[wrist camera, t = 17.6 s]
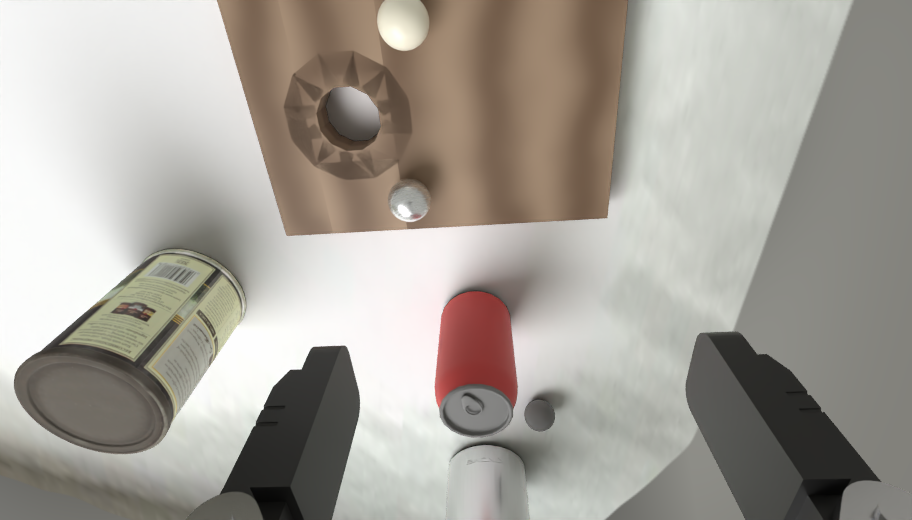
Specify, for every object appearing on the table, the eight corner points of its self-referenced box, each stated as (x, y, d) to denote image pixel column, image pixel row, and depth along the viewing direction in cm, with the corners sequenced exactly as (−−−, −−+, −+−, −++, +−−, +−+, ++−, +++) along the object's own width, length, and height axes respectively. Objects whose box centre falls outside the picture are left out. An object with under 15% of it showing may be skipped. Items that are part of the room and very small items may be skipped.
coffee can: (168, 340, 48) (66, 460, 36) (117, 254, 43) (-22, 361, 31) (263, 330, 47) (190, 451, 35) (222, 241, 42) (121, 346, 30)
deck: (621, -54, 30) (633, -56, 28) (599, 205, 39) (607, 218, 37) (229, -17, 32) (212, -17, 30) (296, 222, 41) (286, 236, 39)
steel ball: (431, 210, 33) (420, 168, 33) (388, 222, 33) (378, 180, 34) (438, 219, 36) (428, 180, 37) (399, 230, 36) (389, 191, 37)
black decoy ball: (527, 426, 52) (524, 435, 49) (524, 397, 52) (521, 404, 49) (556, 425, 51) (556, 434, 48) (553, 395, 51) (552, 402, 48)
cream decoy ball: (433, 45, 31) (429, 52, 28) (386, 49, 31) (377, 56, 28) (428, -11, 29) (423, -10, 27) (378, -6, 30) (368, -5, 27)
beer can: (490, 277, 43) (495, 369, 33) (521, 326, 46) (534, 426, 36) (429, 304, 45) (415, 400, 35) (462, 350, 48) (459, 452, 37)
